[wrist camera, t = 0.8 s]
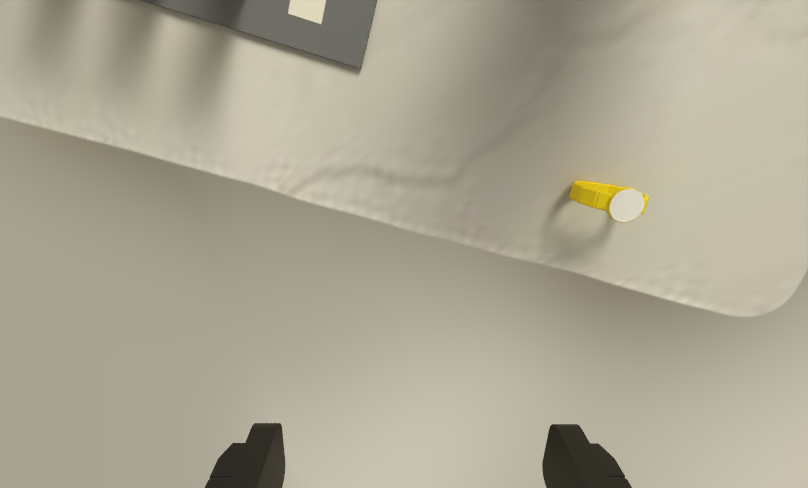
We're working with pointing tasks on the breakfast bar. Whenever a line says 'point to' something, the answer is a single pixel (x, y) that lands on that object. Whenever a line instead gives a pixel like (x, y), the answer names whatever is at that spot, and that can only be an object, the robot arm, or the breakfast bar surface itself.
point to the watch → (610, 199)
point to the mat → (293, 22)
